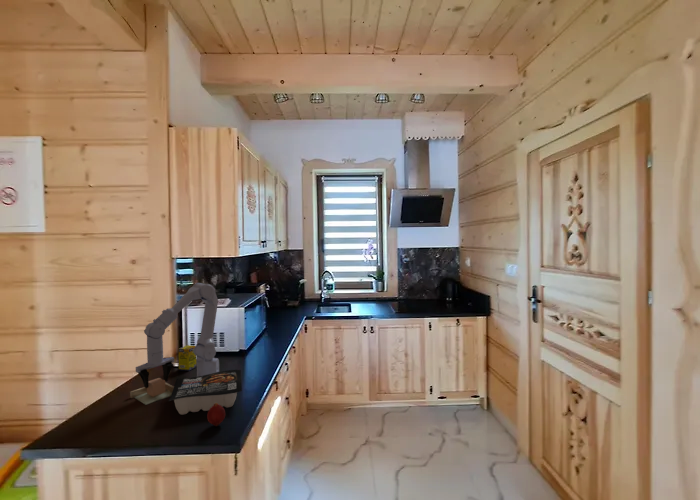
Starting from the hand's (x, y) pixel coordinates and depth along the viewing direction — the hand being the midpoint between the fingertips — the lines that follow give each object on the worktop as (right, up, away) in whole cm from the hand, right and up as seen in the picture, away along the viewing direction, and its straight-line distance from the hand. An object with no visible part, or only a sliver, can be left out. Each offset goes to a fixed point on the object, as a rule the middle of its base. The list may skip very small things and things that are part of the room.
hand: (156, 384), depth 143 cm
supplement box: (0, -4, +28) cm, 28 cm away
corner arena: (0, -4, -1) cm, 4 cm away
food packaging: (+25, -4, -6) cm, 26 cm away
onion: (+35, -5, -25) cm, 44 cm away
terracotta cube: (0, -4, 0) cm, 4 cm away
